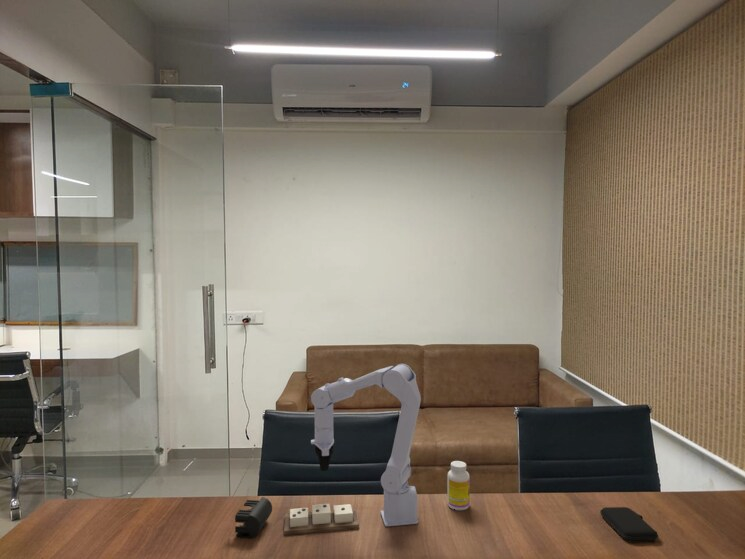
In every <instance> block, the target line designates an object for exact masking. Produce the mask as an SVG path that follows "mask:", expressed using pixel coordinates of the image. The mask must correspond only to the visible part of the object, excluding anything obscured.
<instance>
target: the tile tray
mask: <svg viewBox="0 0 745 559" xmlns="http://www.w3.org/2000/svg"><path fill="white" fill-rule="evenodd" d="M330 511H331V523H326V524H315V525H313V522H312V511H308V526H299V527H290V513H285V514H284V525H283V526H284V527H283V528H284V530H283V535H284V536H291V535H292V536H293V535H303V534H305V535H306V534H315V533H325V532H327V533H328V532H336V531H348V530H358V529H360V524H359V518H358V515H357V510H356V508H355V507H352V512H353V522H344V523H335V521H334V509H330Z"/></svg>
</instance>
